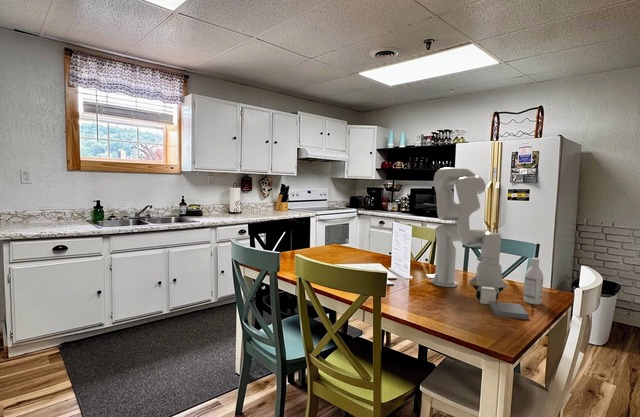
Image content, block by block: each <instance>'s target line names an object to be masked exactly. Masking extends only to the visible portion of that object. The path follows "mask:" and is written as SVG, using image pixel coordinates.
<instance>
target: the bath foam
mask: <svg viewBox="0 0 640 417" xmlns="http://www.w3.org/2000/svg"><path fill="white" fill-rule="evenodd" d="M530 263H531V264H530V265H531V266H530V267H529V268H528V269H527V270H526V272H525V274H524V286H523V302H525V303H527V304H530V305H541V304H542V300H543V299H542V297H543V287H544V286H543V284H544V273H543V271H542V270H541V268H540V258H538V257H532V258H531V262H530Z"/></svg>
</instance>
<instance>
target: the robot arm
mask: <svg viewBox="0 0 640 417" xmlns="http://www.w3.org/2000/svg"><path fill="white" fill-rule="evenodd" d="M449 185H454V186H455V190H456V194H457V199H458V202H455V198H454V196H455V195H454V192H453V190H452V188H451V187H450V186H449ZM433 186H434V191H435V194H436V197H435V198H436V213H437V217H438V219H439V220H441V221H447V223H446V222H445V223H441V224H438V226H437V227H436V228H435V234H434V235H435V240H436V256H435V258H436V259H435V272H434V273H433V274H429V273H428V274H425V278H426V279H429V280H431V283H432V284H433V285H436V286H439V287H444V288H454V287H457V286H458V282H457V281H456V280H455V276H456V261H457V260H456V258H457V250H456V247H455V244H454V243H455V242H460V243H461V244H462V245H463V247H464V246H465V247H469V248H470V247H480V248H481V249H480V254H479V256H477V257H476V261H479V262H478V265H477V268H476V272H475V276H474V277H473V278H472V279H471V280H469V281H468V282H469V284H470V285H471V286H472V287H473V288H474V289H475V291H476V292H475V293H476V294H475V295H476V296H475V297H476V299H477V300H478V302H480V296H481V292H480V289H481V287H492V288H494V289H495V290H496V292H497V293H496V302H498V300H499V294H500V293H501V292H502V291H503V290H505V289H506V288H508V284H506V282H505V281H504V280H503V270H502V264H500V259H501V243H502V236H501V234H500V233H498V232H491V231H489V230H487V229H471V228H470V216H471V215H472V214H473V213H475V212H477V211H479V210H480V209H481V203H480V201H479V196H478V195H481V194H483V193H485V190H486V187H487V185H486V182H485V180H484V178H483V177H481V176H480V175H478V174H476V173H475V172H474V171H472V170H470V169H468V168H464V167H442V168H439V169H438V170H437V171H436V172H435V173H434V176H433ZM448 221H450V222H451V221H454V222H451V223H450V222H449V223H448ZM475 283H476V284H475Z"/></svg>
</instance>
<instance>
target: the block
mask: <svg viewBox="0 0 640 417" xmlns="http://www.w3.org/2000/svg"><path fill="white" fill-rule="evenodd" d="M480 292H481V296H480V301H479V303H480V304H481V305H482V304H483V305H489V301H493V302H496V293H497V292H496V290H495V288H492V287H481V289H480Z"/></svg>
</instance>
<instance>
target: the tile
mask: <svg viewBox="0 0 640 417" xmlns="http://www.w3.org/2000/svg"><path fill="white" fill-rule="evenodd" d="M488 306H489V308H490V309H491V311H492V313H493V314H494V316H495V317H501V318H503V317H504V318H512V319H520V320H521V319H522V320H529V319H530V314H529V313H528V312H527V311H526V310H525V308H524V307H523V306H522V305H521V304H520V303H514V302H513V303H512V302H510V303H509V302H501V301H497V302H493V301H489V304H488Z"/></svg>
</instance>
